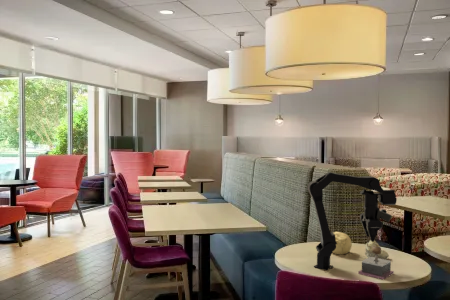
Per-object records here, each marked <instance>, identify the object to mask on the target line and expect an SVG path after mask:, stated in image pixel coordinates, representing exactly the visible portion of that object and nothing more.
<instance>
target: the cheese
mask: <svg viewBox="0 0 450 300" xmlns="http://www.w3.org/2000/svg"><path fill="white" fill-rule="evenodd" d="M373 246H378V247H381V246H380V245H379V243H378V242H377V241H376V240H374V242H372V241H371V239H370V240H369V241H367V243H365V252H364V254H365V256H366V258H369V257H375V254H374V253H372V247H373ZM378 258H380V259H385V260H387V259H388V258H389V253H388V252H387V251H386V250H383V249H381V254H378Z"/></svg>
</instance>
